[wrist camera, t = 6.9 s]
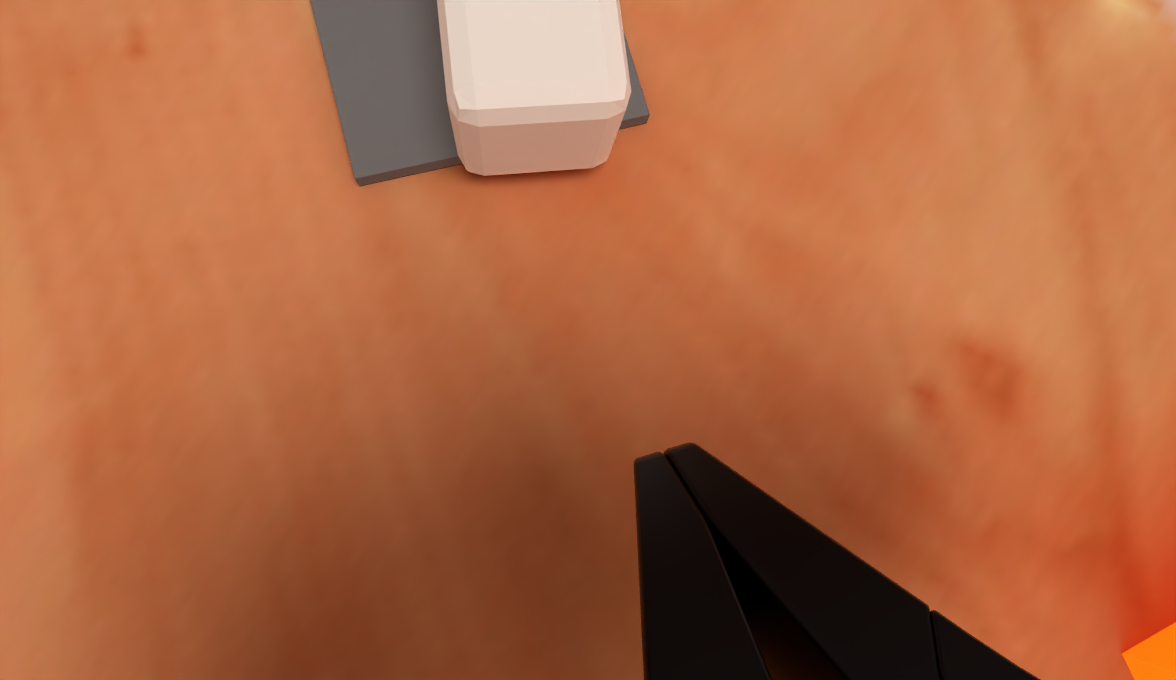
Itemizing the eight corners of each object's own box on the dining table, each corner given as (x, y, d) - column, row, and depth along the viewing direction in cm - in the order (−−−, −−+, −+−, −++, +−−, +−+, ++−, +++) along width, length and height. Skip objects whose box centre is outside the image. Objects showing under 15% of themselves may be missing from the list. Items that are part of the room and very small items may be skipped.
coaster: (645, 123, 18) (649, 114, 18) (359, 186, 17) (355, 178, 17) (578, -95, 19) (580, -109, 19) (300, -50, 18) (294, -63, 17)
